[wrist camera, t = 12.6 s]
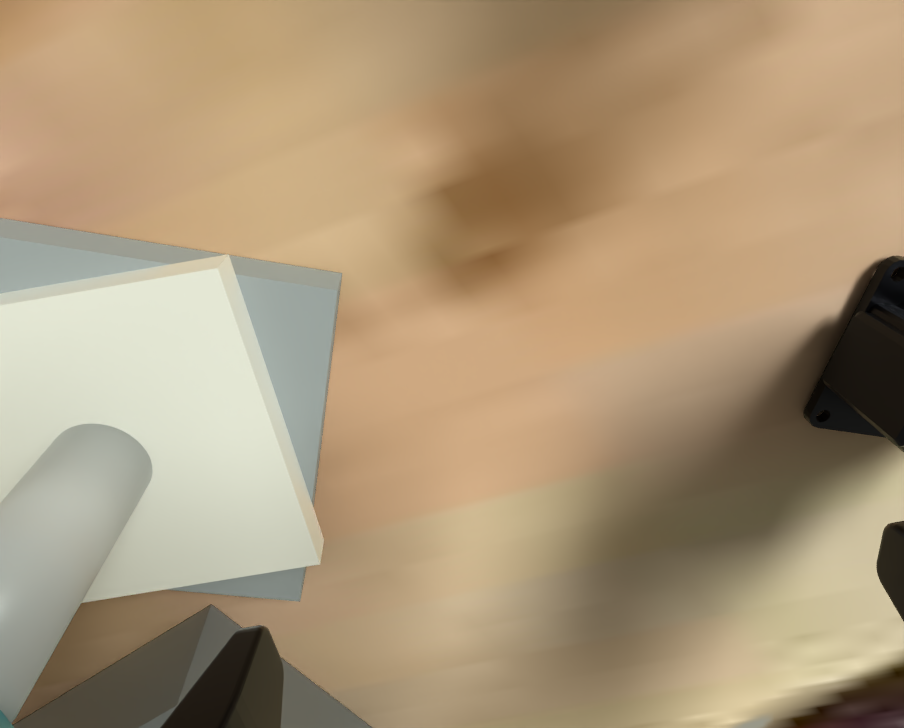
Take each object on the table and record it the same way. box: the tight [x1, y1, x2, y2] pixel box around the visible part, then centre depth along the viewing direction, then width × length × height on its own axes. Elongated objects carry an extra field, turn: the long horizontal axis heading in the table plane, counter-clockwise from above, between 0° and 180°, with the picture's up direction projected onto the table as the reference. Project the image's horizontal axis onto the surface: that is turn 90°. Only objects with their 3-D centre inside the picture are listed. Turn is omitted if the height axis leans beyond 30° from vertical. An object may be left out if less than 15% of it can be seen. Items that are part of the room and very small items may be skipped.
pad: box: [0, 218, 342, 601], centre depth 22 cm, size 13×13×2 cm
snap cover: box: [0, 254, 324, 728], centre depth 16 cm, size 11×11×10 cm
